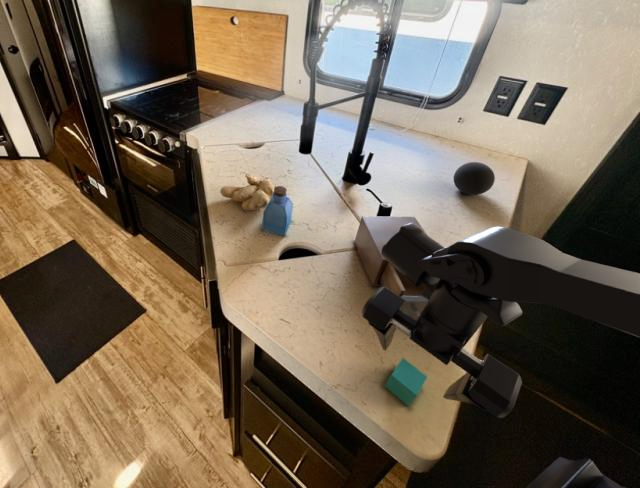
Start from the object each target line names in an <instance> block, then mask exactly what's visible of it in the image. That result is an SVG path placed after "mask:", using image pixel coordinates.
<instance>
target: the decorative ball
mask: <svg viewBox="0 0 640 488" xmlns="http://www.w3.org/2000/svg"><path fill="white" fill-rule="evenodd" d="M495 181H496V177H495V173H494V170H493V169H492V168H491V167H490V166H488V164H485V163H483V162H480V161H479V162H478V161H471V162H470V161H469V162H466V163H464V164H462V165H461V166H459V167H458V168H457V169H456V170H455V172H454V174H453V183H454V186H455V187H456V189H457V190H458V191H460V192H461V193H463V194H466V195H469V196H479V195H482V194H485V193H487V192H488V191H489V190H490V189H492V187H493V186H494V184H495Z"/></svg>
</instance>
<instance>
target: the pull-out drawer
mask: <svg viewBox="0 0 640 488" xmlns="http://www.w3.org/2000/svg"><path fill="white" fill-rule="evenodd" d="M379 282H380V284H381V286H380V287H386V288H388V289H389V290H391V291H392V292H394V293H395V294H397V295H398V296H400V297H401V298H403V299H405V300H406V302H405V304H404V305H403V307H401V308H400V309H402V310H403V312H404V313H405V314H407V315H408V316H410V317H411V318H413V319H414V320H416V321H417V319H418V317H419V316H420V314H421V312H422V310H423V309H424V307H425V305H426V303H427V302H428V299H426V298H424V297H423V296H421V293H422V292H423V290H424V288H425V287H426V285H425V284H424V283H423V284H421V285H419V286H418V287H416V286H415V285H413V284H412V283H411V282H410V281H409V280H408V279H407V278H406V277H405V276H404V275H402V274H401V273H400V272H399V271H398V270H397V269H396V268H395V267H394V266H393V265H391V264H390V263H389V262H386V263H385V265H384V268H383V270H382V273H381V275H380V278H379Z"/></svg>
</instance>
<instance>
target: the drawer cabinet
mask: <svg viewBox="0 0 640 488" xmlns="http://www.w3.org/2000/svg"><path fill="white" fill-rule="evenodd" d="M409 223H414V224H415V225H416V226H418V227H419V228H420V229H421V230H422V231H423V232H424V233H425V234H426V235H428V234H427V232H426V231H425V230H424V228H423V226H422V225H421V224H420V222H419V221H418V219H417V218H416V216H388V215H387V216H383V215H382V216H378V215H377V216H375V215H373V216H372V215H371V216H370V215H369V216H367V215H366V216H363V215H362V216H361V217H360V222H359V225H358V229H357V230H356V231H357V232H356V235H355V238H354V241H353V242H354V244H355V247H356V249H357V252H358V254H359V257H360V259H361V262H362V264H363V267H364V269H365V271H366V274H367V277H368V279H369V281H370V284H371V286H372V287H382V286H381V284H380V282H379V278H380V275H381V273H382V270H383V268H384V265H385V263H386V262H388V261H387V260H386V259H385V258H384V257H383V256H382V255H381V251H382V248H383V246H384V245H385V244H387V242H388V241H389V240H390V239H391V238H392V237H393V236H394V235H395V234H396V233H398V232H399V230H400V228H401V226H404V225H406V224H409Z"/></svg>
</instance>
